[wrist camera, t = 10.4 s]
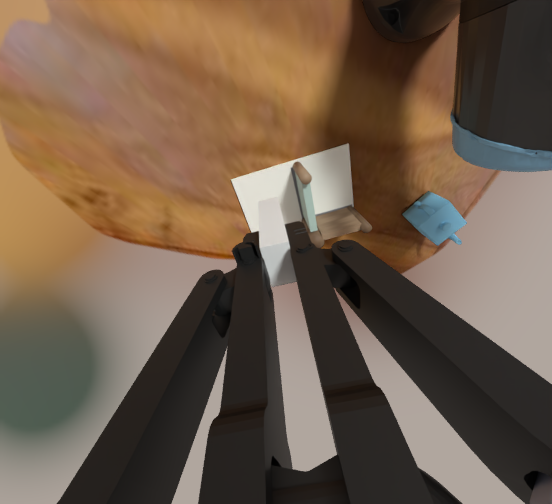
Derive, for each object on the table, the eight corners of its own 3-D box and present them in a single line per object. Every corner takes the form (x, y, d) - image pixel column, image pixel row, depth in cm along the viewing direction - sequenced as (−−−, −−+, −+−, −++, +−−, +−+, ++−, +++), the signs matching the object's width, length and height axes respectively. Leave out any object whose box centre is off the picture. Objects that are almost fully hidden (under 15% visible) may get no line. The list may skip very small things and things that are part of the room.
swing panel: (310, 213, 43) (320, 232, 36) (302, 215, 43) (310, 235, 36) (300, 160, 37) (310, 171, 31) (291, 162, 37) (299, 174, 31)
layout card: (348, 143, 37) (349, 143, 37) (354, 220, 45) (355, 221, 45) (231, 179, 39) (231, 180, 38) (257, 247, 47) (257, 248, 47)
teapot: (450, 218, 47) (480, 235, 41) (425, 238, 49) (449, 257, 43) (421, 184, 42) (449, 198, 36) (395, 208, 45) (417, 224, 38)
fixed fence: (352, 202, 43) (372, 221, 36) (353, 213, 44) (372, 234, 37) (300, 217, 44) (309, 239, 36) (302, 227, 45) (311, 250, 38)
